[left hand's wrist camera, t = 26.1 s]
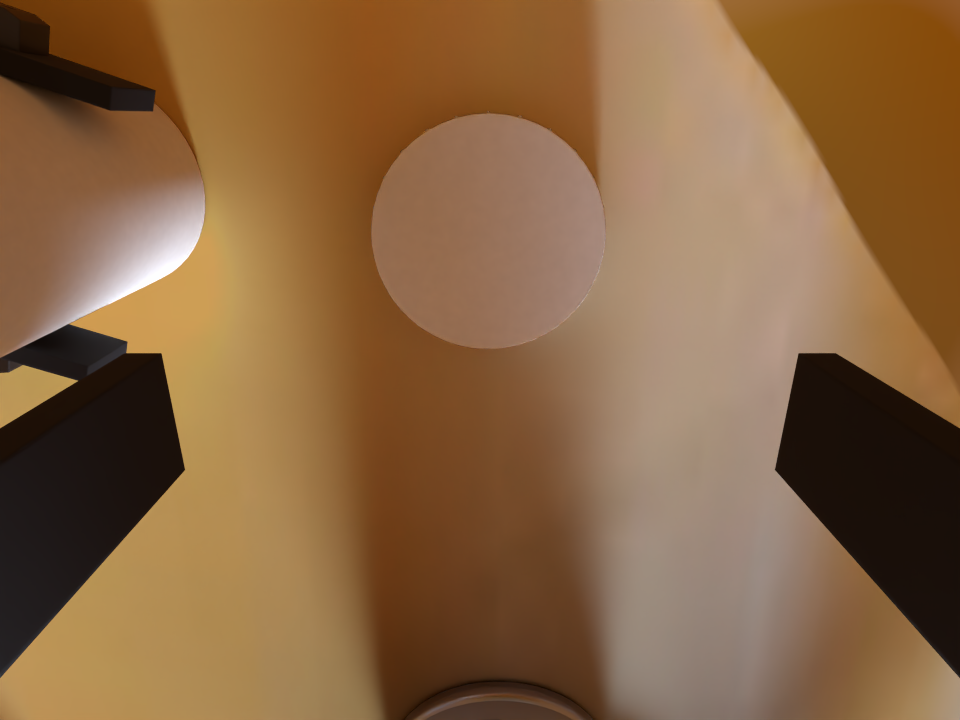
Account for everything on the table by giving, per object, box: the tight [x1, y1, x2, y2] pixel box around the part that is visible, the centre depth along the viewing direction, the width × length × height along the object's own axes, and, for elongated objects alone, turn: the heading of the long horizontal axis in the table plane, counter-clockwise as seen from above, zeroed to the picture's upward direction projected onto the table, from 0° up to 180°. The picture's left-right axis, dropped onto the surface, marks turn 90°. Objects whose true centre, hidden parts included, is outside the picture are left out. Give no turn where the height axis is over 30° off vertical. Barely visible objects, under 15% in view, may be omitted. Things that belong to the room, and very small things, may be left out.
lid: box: [371, 111, 606, 349], centre depth 27 cm, size 11×11×2 cm
